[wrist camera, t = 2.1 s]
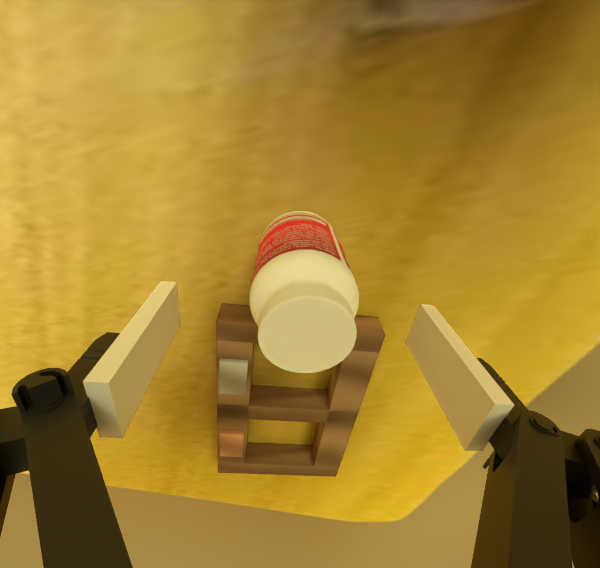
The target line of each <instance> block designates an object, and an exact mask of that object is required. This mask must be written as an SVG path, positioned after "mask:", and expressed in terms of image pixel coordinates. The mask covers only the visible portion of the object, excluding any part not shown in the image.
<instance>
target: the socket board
mask: <svg viewBox="0 0 600 568" xmlns="http://www.w3.org/2000/svg"><path fill="white" fill-rule="evenodd" d="M354 321H355V325H356V330H357V335H356V341H355V344H354V347H353V349H352V350H351V352H350V353H349V355H348V356H347V357H346V358H345V359H344V360H343V361H341V362H340V363H339V364H337V365H335V366H333V367H332V370H331V374H330V378H329V382H328V386H327V390H317V389H301V388H285V387H269V386H253V385H251V383H252V369H253V355H254V343H258V325H257V324H256V322H255V320H254V318H253V316H252V313H251V310H250V306H245V305H233V304H222V306H221V309H220V312H219V315H218V317H217V320H216V338H217V429H218V473H247V474H276V475H306V476H335V477H336V475H337V472H338V469H339V466H340V463H341V460H342V457H343V455H344V452H345V449H346V446H347V443H348V440H349V437H350V434H351V432H352V429H353V426H354V423H355V420H356V417H357V414H358V412H359V409H360V406H361V403H362V400H363V397H364V394H365V392H366V389H367V386H368V383H369V380H370V377H371V374H372V371H373V369H374V366H375V363H376V360H377V357H378V354H379V351H380V349H381V346H382V343H383V340H384V337H385V333H384V331H383V329H382V326H381V324H380V322H379V319H378V317H370V316H358V315H356V316H355V318H354ZM249 419H259V420H278V421H298V422H317V423H318V425H317V429H316V433H315V437H314V441H313V445H290V444H267V443H247V440H248V426H249Z"/></svg>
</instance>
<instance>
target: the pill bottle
mask: <svg viewBox="0 0 600 568" xmlns="http://www.w3.org/2000/svg"><path fill="white" fill-rule="evenodd" d="M249 303H250V310H251V313H252V316H253V318H254V320H255V322H256V324H257V325H258V343H259V346H260V349H261V351H262V353H263V354H264V356H265V357H266V358H267V359H268V360H269V361H270V362H271V363H273V364H274V365H276V366H277V367H279V368H281V369H284V370H287V371H290V372H295V373H315V372H320V371H323V370H326V369H329V368H331V367H333V366H335V365H337V364H339V363H340V362H341V361H343V360H344V359H345V358H346V357H347V356H348V355H349V353H350V352H351V350H352V349H353V347H354V344H355V341H356V335H357V330H356V325H355V321H354V318H355V316H356V313H357V310H358V305H359V291H358V287H357V283H356V280H355V277H354V275H353V273H352V271H351V268H350V266H349V263H348V261H347V259H346V256H345V254H344V251H343V249H342V246H341V244H340V241H339V239H338V236H337V234H336V232H335V230H334V229H333V227H332V226H331V225H330V224H329V223H328V222H327V221H326V220H325V219H324V218H322V217H321V216H319V215H317V214H315V213H312V212H308V211H292V212H288V213H285V214H282V215H280V216H279V217H277V218H275V219H274V220H273V221H272V222H271V223H270V224H269V225H268V226H267V228H266V229H265V231H264V233H263V235H262V237H261V241H260V245H259V250H258V255H257V259H256V264H255V269H254V274H253V279H252V283H251V288H250V298H249Z"/></svg>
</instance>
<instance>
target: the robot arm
mask: <svg viewBox="0 0 600 568" xmlns="http://www.w3.org/2000/svg"><path fill="white" fill-rule="evenodd" d="M179 327H180V317H179V304H178V292H177V282H169V281H161V282H160V283H159V284H158V286H157V287H156V288H155V289H154V291H153V292H152V293H151V295H150V296H149V297H148V298H147V300H146V301H145V302H144V304H143V305H142V306H141V307H140V309H139V310H138V311H137V313H136V314H135V315H134V316H133V318H132V319H131V320H130V322H129V323H128V324H127V325H126V327H125V328H124V329H123V330H122V332H121V333H109V332H107V333H106V334H104V335H103V336H101V337H99V338H98V339H96V340H95V341H94V342H93V343H92V345H91V346H90V347H89V348H88V349H87V351H85V353H84V354H83V355H82V356H81V358H80V359H79V360H78V361H77V362H76V363H75V364H74V365H73V366H72V368H71V369H70V370H69V371H68V372H66V371H65V370H63V369H60V368H47V369H43V370H39V371H36V372H34V373H32V374H29V375H27V376H26V377H24V378H23V379H21V380H20V381H19V382H18V383H17V384H16V385H15V386H14V388H13V391H12V397H13V399H14V401H15V403H16V405H17V406H16V407H10V408H5V409H0V535H1V531H2V527H3V523H4V519H5V515H6V511H7V506H8V503H9V499H10V494H11V490H12V486H13V482H14V478H15V474H16V473H20V472H24V471H28V470H29V472H30V478H31V486H32V492H33V499H34V505H35V512H36V519H37V526H38V532H39V538H40V546H41V552H42V559H43V566H44V568H133V567H132V564H131V561H130V558H129V555H128V552H127V550H126V546H125V543H124V540H123V537H122V534H121V531H120V528H119V525H118V522H117V519H116V516H115V513H114V510H113V507H112V504H111V501H110V498H109V495H108V492H107V489H106V486H105V482H104V479H103V476H102V473H101V470H100V467H99V464H98V461H97V458H96V455H95V452H94V449H93V446H92V443H91V440H90V437H91V435H92V434H93V432H94V430H95V429H96V427H97V429H98V433H99V436H100V437H114V438H123V436H124V434H125V432H126V430H127V428H128V426H129V424H130V422H131V420H132V418H133V416H134V414H135V413H136V411H137V409H138V407H139V405H140V403H141V401H142V399H143V397H144V395H145V393H146V391H147V389H148V387H149V385H150V383H151V381H152V379H153V377H154V376H155V374H156V372H157V370H158V368H159V366H160V364H161V362H162V360H163V358H164V356H165V354H166V352H167V350H168V348H169V346H170V344H171V342H172V341H173V339H174V337H175V335H176V333H177V331H178V329H179ZM406 344H407V346H408V348H409V350H410V352H411V353H412V355H413V357H414V359H415V361H416V362H417V364H418V366H419V368H420V370H421V372H422V373H423V375H424V377H425V379H426V381H427V383H428V384H429V386H430V388H431V390H432V392H433V393H434V395H435V397H436V399H437V401H438V403H439V404H440V406H441V408H442V410H443V412H444V413H445V415H446V417H447V419H448V421H449V423H450V424H451V426H452V428H453V430H454V432H455V434H456V435H457V437H458V439H459V441H460V443H461V444H462V446H463V448H464V450H471V451H483V449H484V448H485V446H486V445H487V443H488V442H490V443H491V445H492V447H493V448H494V451H493V453H492V454H491V455H490V457H489V458H488V459H487V461H486V462H485V464H484V466H483V468H485V469H486V468H487V466H488V465H489V468H488V474H487V480H486V486H485V491H484V497H483V502H482V508H481V514H480V520H479V526H478V531H477V537H476V542H475V548H474V554H473V559H472V566H471V568H572V561H573V564H574V567H575V568H600V431H597V430H593V429H586V430H585V431H584V432H583V433H582V434H581V435H580V436H576V435H573V434H570V433H566V432H563V431H560V430H559V428H558V427H557V426H556V425H555V424H554V423H553V422H552V421H551V420H550V419H548V418H547V417H545V416H543V415H541V414H539V413H537V412H534V411H529V410H528V409H527V408H526V407H525V406H524V404H523V403H522V402H521V401H520V400H519V398H518V397H517V396H516V395H515V394H514V393H513V391H512V390H511V389H510V388H509V387H508V385H507V384H505V382H504V381H503V380H502V378H501V377H499V375H498V374H497V372H496V371H495V370H494V369H493V368H492V367H491V366H490V365H489V364H488V363H486V362H485V361H484V360H482V359H481V358H476V357H475V356H474V355H473V353H472V352H471V351H470V350H469V348H468V347H467V346H466V345H465V343H464V342H463V341H462V340H461V339H460V337H459V336H458V335H457V334H456V332H455V331H454V330H453V329H452V327H451V326H450V325H449V324H448V323H447V321H446V320H445V319H444V318H443V316H442V315H441V314H440V313H439V311H438V310H437V309H436V308H435V307H434V305H427V304H420V306H419V309H418V311H417V314H416V317H415V319H414V322H413V324H412V327H411V329H410V332H409V335H408V337H407V340H406ZM596 493H598V497H599V498H597V496H596Z"/></svg>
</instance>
